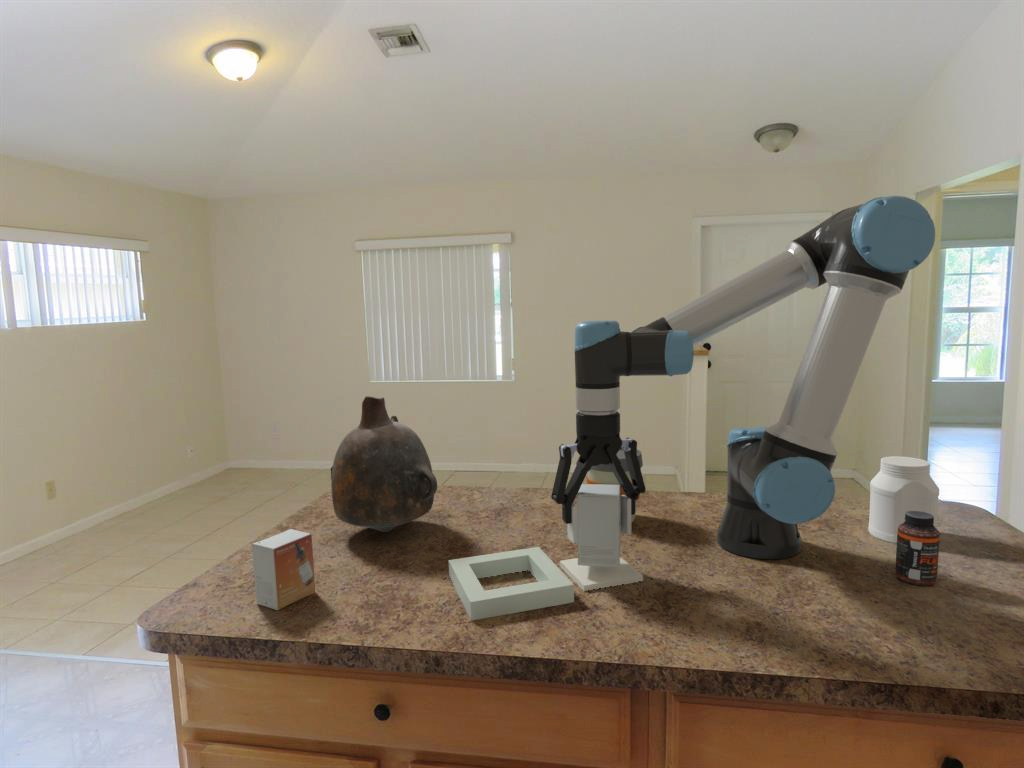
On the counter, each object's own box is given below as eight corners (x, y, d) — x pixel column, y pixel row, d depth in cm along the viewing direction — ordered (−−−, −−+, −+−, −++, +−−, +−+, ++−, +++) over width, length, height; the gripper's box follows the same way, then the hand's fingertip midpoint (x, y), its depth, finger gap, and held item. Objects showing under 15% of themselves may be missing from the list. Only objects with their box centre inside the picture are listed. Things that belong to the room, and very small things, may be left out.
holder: (538, 562, 118) (538, 546, 117) (574, 602, 102) (573, 584, 101) (449, 576, 113) (448, 560, 113) (471, 620, 97) (470, 602, 96)
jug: (445, 512, 148) (439, 385, 144) (437, 548, 126) (430, 399, 123) (340, 517, 147) (331, 389, 143) (314, 553, 126) (303, 404, 122)
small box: (277, 612, 102) (272, 549, 100) (255, 604, 105) (250, 543, 103) (316, 592, 108) (312, 533, 107) (295, 585, 111) (290, 527, 110)
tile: (614, 557, 119) (614, 552, 119) (643, 581, 109) (643, 575, 108) (559, 565, 116) (559, 560, 116) (583, 591, 105) (583, 585, 105)
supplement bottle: (923, 590, 102) (927, 522, 101) (887, 576, 107) (890, 512, 106) (944, 581, 105) (948, 515, 103) (908, 569, 110) (911, 506, 109)
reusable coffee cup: (576, 522, 138) (574, 455, 136) (599, 506, 149) (598, 443, 147) (630, 532, 132) (630, 461, 130) (651, 514, 142) (650, 448, 140)
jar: (922, 527, 129) (926, 455, 127) (945, 545, 120) (949, 468, 118) (861, 525, 131) (864, 454, 129) (879, 542, 122) (882, 467, 120)
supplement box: (620, 568, 108) (619, 496, 106) (576, 566, 109) (575, 495, 107) (621, 551, 115) (621, 483, 113) (580, 549, 116) (579, 482, 115)
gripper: (645, 403, 115) (645, 521, 118) (529, 412, 109) (532, 537, 112) (666, 409, 108) (666, 535, 111) (544, 420, 102) (547, 553, 105)
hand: (599, 536), depth 111 cm, fingers closed on supplement box, 10 cm apart
